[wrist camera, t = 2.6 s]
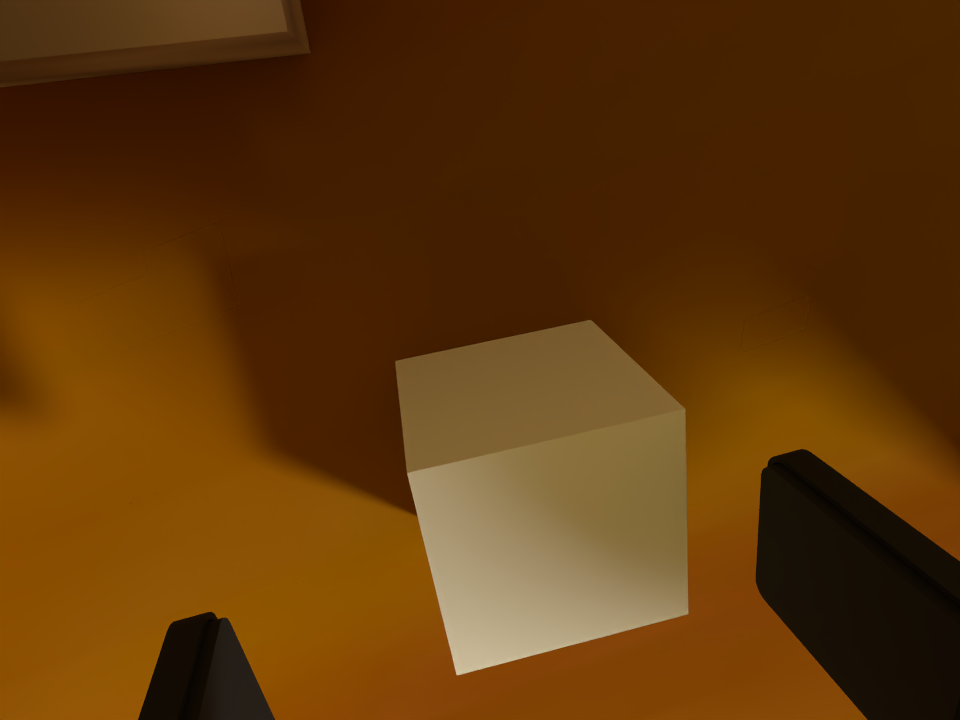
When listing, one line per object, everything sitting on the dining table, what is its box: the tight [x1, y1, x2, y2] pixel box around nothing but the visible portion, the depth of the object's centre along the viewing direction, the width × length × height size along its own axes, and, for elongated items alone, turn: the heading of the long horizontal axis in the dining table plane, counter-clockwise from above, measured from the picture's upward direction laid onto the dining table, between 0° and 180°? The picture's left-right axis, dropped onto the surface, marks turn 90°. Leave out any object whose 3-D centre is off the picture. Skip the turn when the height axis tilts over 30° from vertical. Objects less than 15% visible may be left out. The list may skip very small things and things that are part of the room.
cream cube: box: [395, 320, 688, 675], centre depth 14 cm, size 5×5×5 cm
